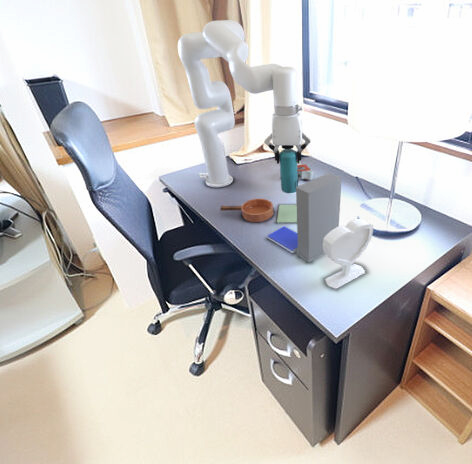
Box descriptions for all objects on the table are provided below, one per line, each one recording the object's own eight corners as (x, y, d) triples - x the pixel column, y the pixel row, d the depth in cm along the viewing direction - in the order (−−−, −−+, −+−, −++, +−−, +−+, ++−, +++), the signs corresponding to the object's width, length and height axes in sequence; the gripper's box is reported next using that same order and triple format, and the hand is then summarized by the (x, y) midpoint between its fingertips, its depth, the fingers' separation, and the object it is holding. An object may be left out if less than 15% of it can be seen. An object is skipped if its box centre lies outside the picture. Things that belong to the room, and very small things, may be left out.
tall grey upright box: (325, 237, 112) (327, 171, 98) (338, 245, 109) (342, 177, 94) (296, 254, 105) (293, 186, 90) (308, 263, 101) (308, 193, 87)
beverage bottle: (296, 197, 117) (295, 144, 106) (279, 196, 118) (275, 143, 107) (300, 189, 122) (299, 138, 111) (283, 188, 124) (280, 137, 112)
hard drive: (309, 239, 109) (284, 225, 116) (292, 250, 104) (267, 235, 111) (309, 242, 110) (284, 229, 117) (292, 253, 105) (267, 239, 112)
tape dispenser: (297, 167, 166) (273, 179, 152) (297, 157, 163) (272, 168, 149) (326, 173, 157) (303, 186, 143) (326, 163, 154) (303, 175, 140)
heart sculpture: (330, 291, 91) (333, 241, 80) (320, 281, 94) (320, 232, 84) (369, 270, 98) (376, 221, 88) (358, 261, 101) (363, 213, 91)
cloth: (276, 222, 121) (276, 222, 120) (279, 205, 131) (279, 204, 131) (303, 222, 120) (303, 222, 120) (303, 205, 131) (303, 204, 131)
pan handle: (220, 210, 124) (220, 207, 124) (221, 208, 126) (221, 205, 125) (242, 210, 124) (241, 207, 124) (242, 208, 126) (242, 205, 125)
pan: (240, 222, 121) (238, 214, 119) (245, 206, 131) (244, 198, 129) (271, 222, 121) (271, 214, 119) (274, 206, 131) (274, 198, 129)
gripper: (312, 106, 106) (312, 157, 116) (260, 107, 106) (265, 158, 117) (313, 112, 100) (312, 166, 110) (257, 113, 100) (262, 166, 110)
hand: (288, 161), depth 113 cm, fingers closed on beverage bottle, 6 cm apart
